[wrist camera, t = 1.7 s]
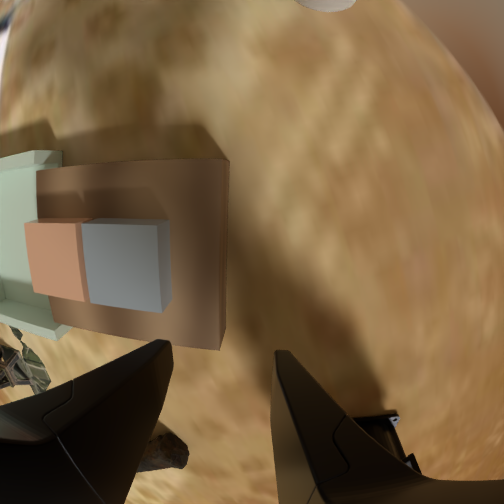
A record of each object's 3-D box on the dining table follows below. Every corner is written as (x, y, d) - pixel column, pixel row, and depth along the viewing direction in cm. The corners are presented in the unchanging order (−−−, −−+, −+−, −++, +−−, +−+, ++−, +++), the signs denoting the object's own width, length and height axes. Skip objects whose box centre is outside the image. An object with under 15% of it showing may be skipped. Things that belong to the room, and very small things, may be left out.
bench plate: (229, 161, 18) (222, 158, 15) (225, 328, 21) (219, 350, 19) (59, 169, 19) (36, 170, 16) (72, 307, 22) (54, 322, 19)
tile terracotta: (92, 217, 17) (74, 223, 15) (99, 290, 18) (84, 302, 16) (41, 218, 17) (24, 223, 15) (49, 283, 18) (34, 292, 16)
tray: (62, 150, 19) (34, 150, 15) (78, 322, 22) (57, 341, 19) (-10, 166, 19) (-34, 168, 16) (6, 304, 23) (-14, 316, 20)
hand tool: (169, 425, 25) (157, 458, 21) (193, 447, 26) (184, 478, 22) (80, 444, 29) (67, 465, 24) (100, 461, 30) (88, 482, 25)
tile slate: (169, 219, 16) (157, 225, 15) (172, 299, 18) (161, 313, 16) (98, 218, 17) (81, 223, 15) (105, 291, 18) (90, 302, 16)
